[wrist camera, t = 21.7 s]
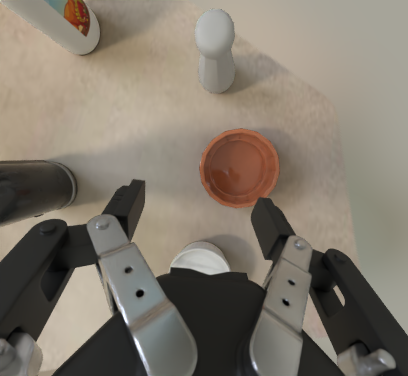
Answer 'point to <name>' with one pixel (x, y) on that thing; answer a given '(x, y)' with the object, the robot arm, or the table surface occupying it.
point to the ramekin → (202, 258)
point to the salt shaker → (215, 50)
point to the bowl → (239, 168)
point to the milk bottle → (61, 21)
